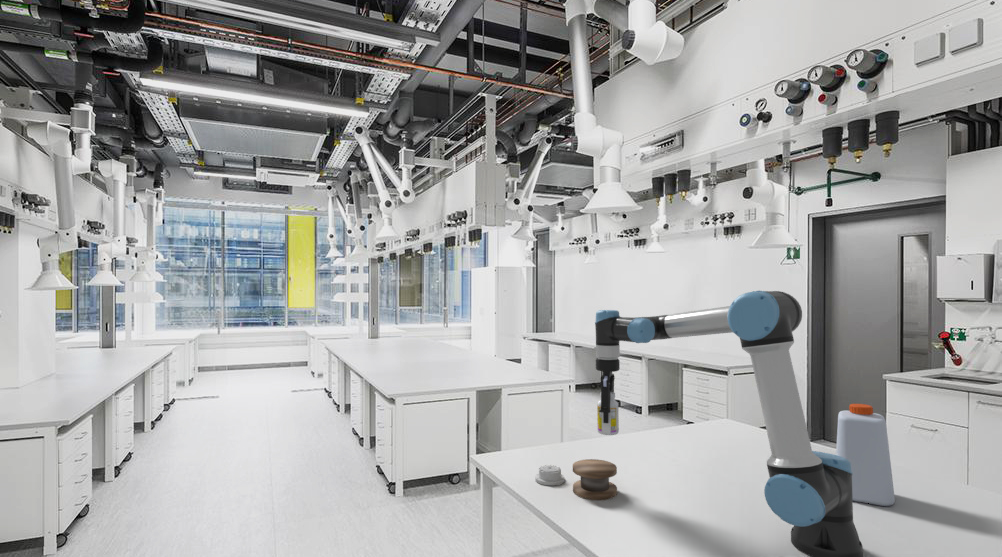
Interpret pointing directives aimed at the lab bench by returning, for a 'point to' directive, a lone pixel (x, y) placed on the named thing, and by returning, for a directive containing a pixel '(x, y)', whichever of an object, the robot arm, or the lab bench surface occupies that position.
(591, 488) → the bobbin
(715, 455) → the lab bench surface
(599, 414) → the supplement bottle
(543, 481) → the mechanical component
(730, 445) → the lab bench surface
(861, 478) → the plastic bottle
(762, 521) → the lab bench surface
